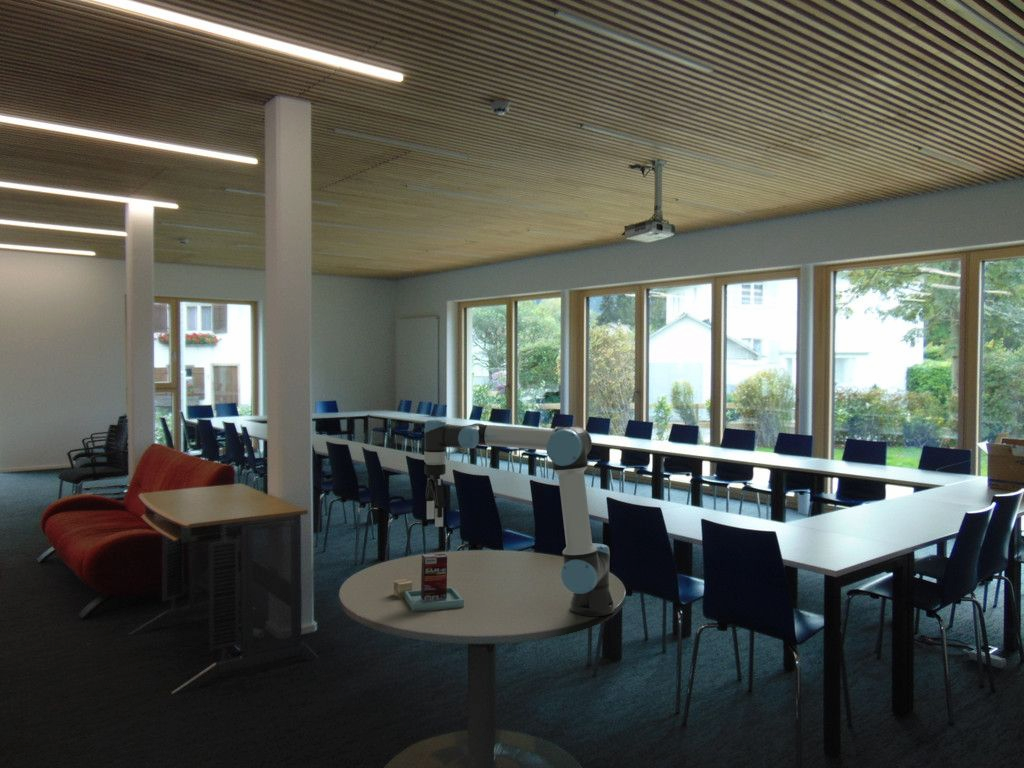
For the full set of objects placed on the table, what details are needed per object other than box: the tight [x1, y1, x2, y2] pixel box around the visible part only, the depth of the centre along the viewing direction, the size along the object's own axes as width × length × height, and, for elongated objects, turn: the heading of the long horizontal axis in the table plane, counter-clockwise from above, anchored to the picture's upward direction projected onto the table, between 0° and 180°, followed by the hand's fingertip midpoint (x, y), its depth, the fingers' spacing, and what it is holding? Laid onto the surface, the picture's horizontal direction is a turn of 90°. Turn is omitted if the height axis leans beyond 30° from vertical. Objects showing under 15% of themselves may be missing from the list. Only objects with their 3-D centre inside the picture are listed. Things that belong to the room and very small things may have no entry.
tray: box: [404, 586, 465, 613], centre depth 268 cm, size 16×18×2 cm
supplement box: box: [420, 553, 448, 602], centre depth 267 cm, size 9×5×16 cm, turn 109°
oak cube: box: [393, 578, 413, 599], centre depth 276 cm, size 5×5×5 cm
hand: (434, 522), depth 267 cm, fingers open, 13 cm apart
